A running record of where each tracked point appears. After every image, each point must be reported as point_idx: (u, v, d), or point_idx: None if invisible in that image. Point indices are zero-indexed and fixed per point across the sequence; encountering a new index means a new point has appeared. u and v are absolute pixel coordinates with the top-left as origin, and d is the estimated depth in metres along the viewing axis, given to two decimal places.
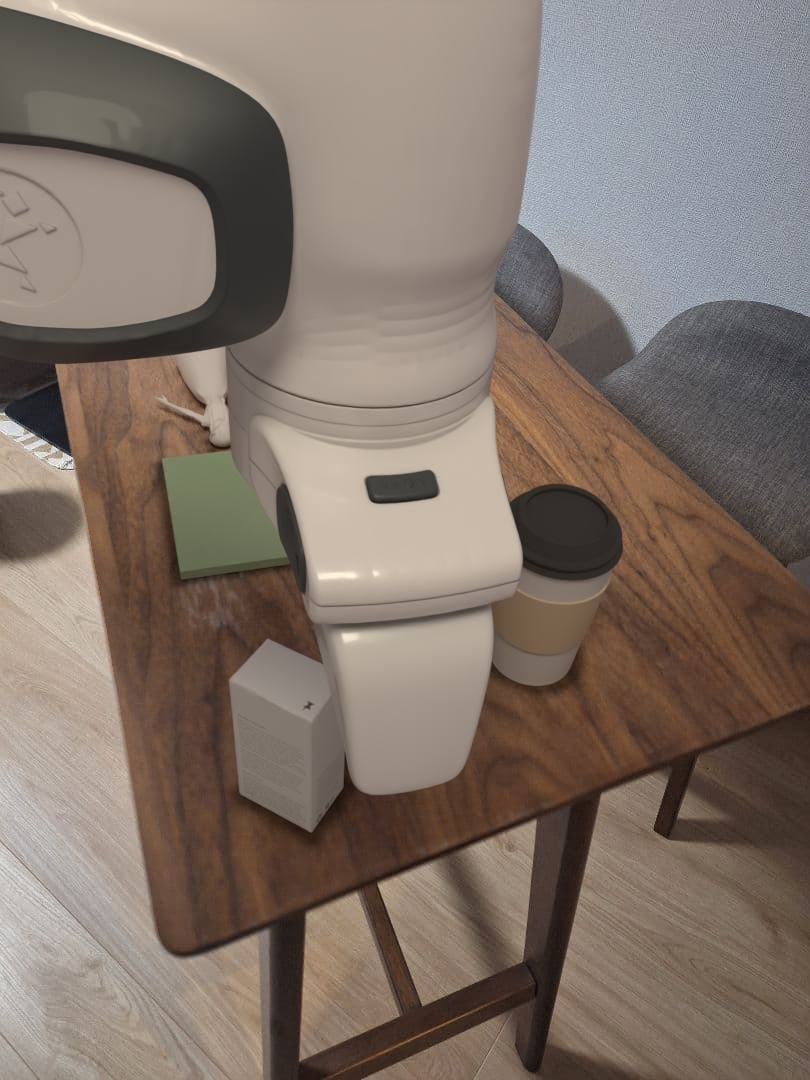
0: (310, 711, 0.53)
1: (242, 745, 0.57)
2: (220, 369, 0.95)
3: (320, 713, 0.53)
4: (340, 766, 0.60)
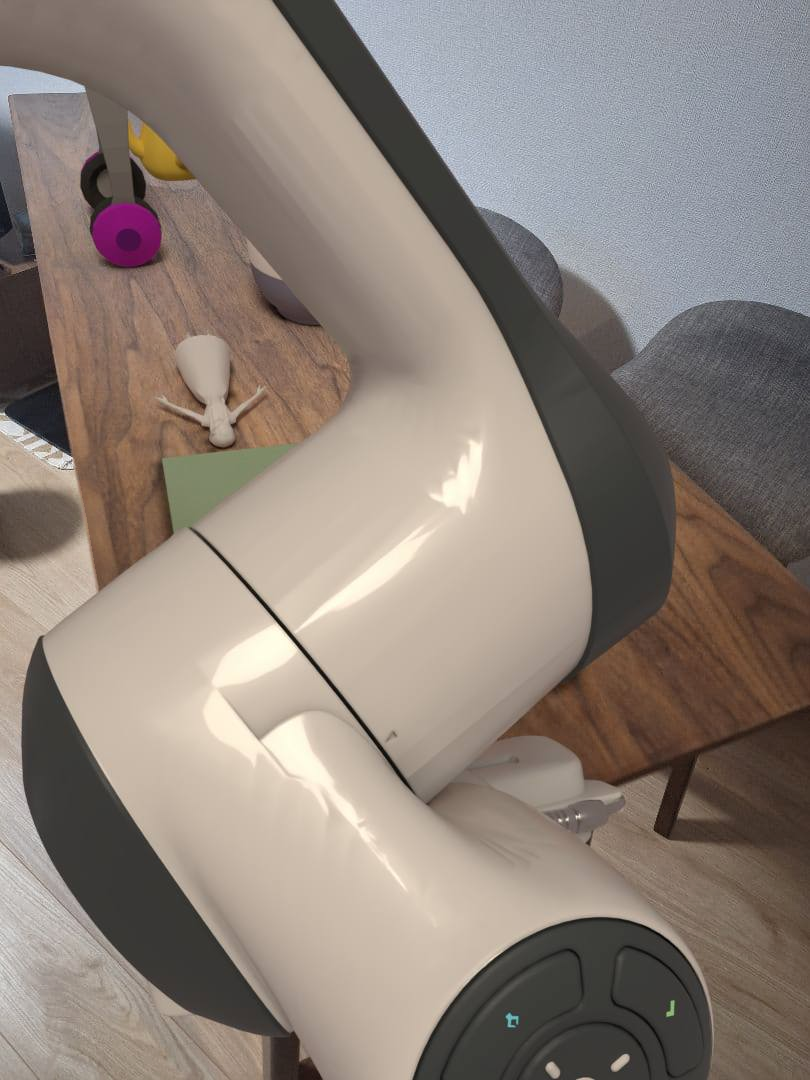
0: None
1: None
2: (220, 369, 0.95)
3: None
4: None
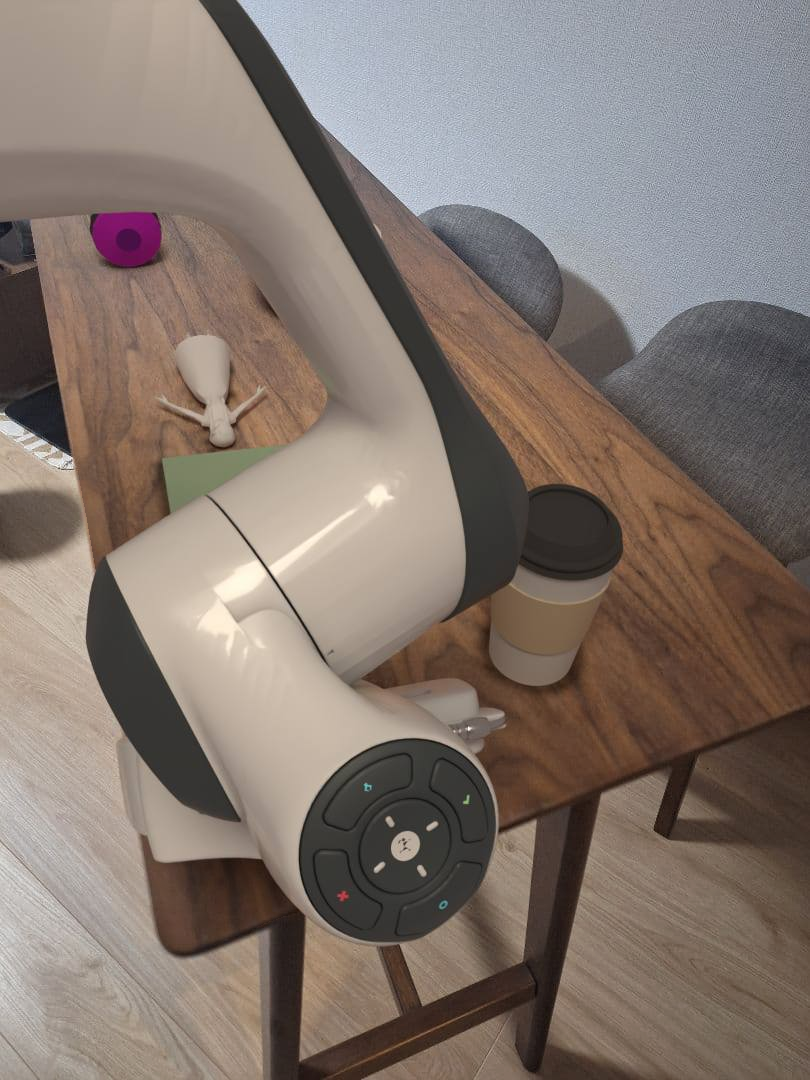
0: None
1: None
2: (220, 369, 0.95)
3: None
4: None
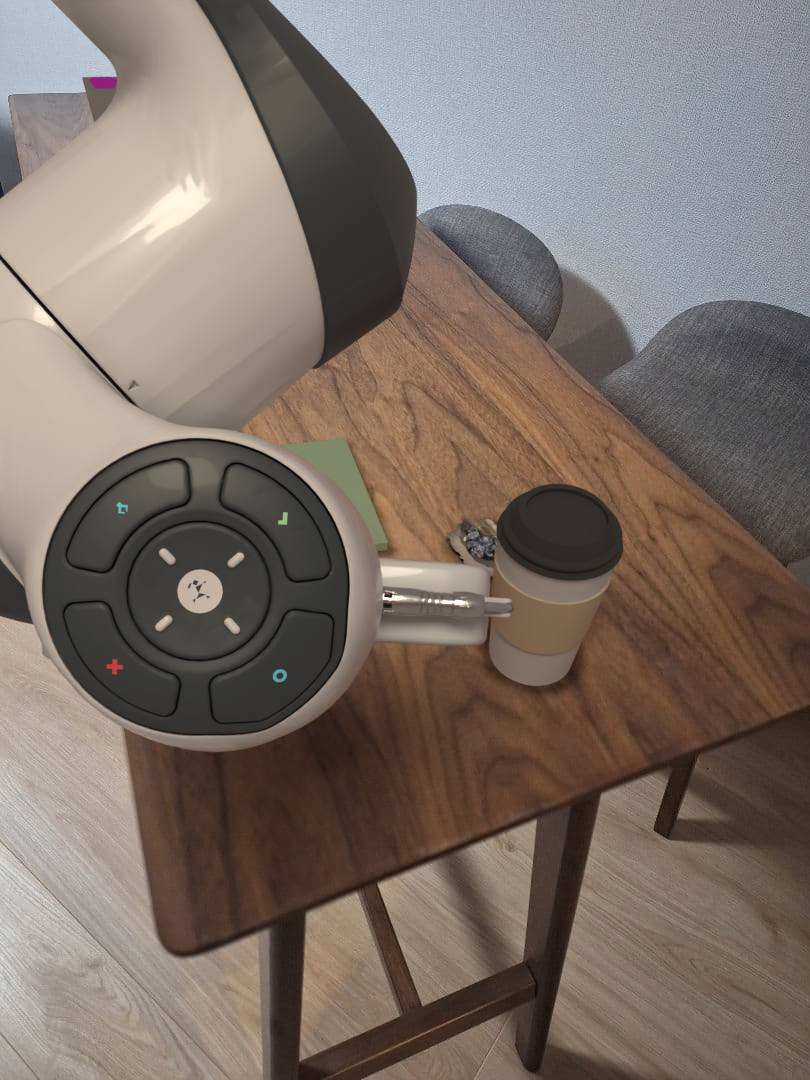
0: None
1: None
2: None
3: None
4: None
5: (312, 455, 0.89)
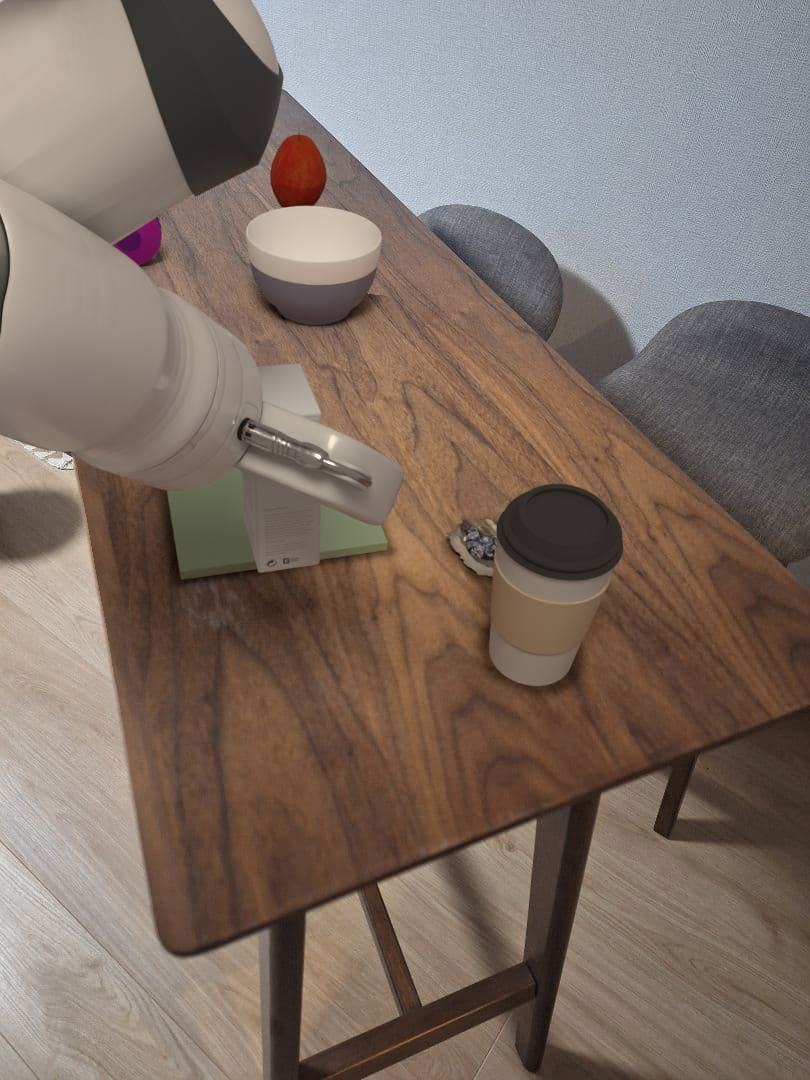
0: None
1: None
2: None
3: None
4: (310, 528, 0.58)
5: None
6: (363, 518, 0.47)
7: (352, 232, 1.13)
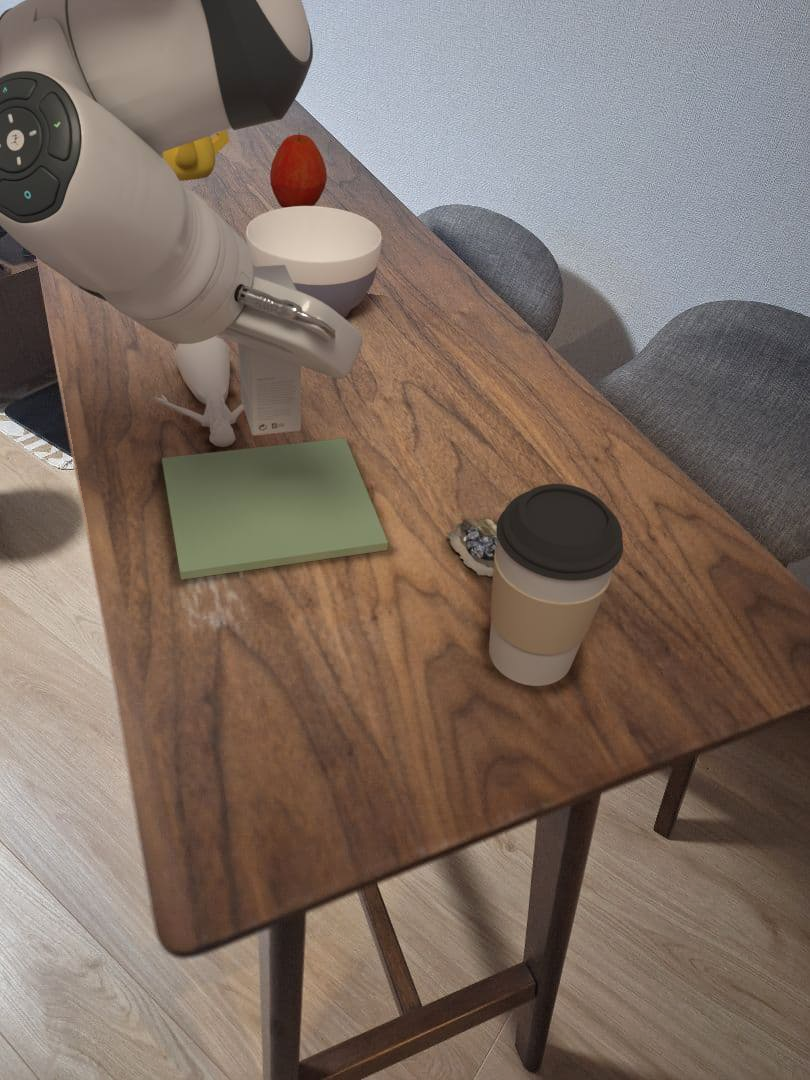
0: None
1: None
2: (220, 369, 0.95)
3: None
4: (293, 397, 0.73)
5: (312, 455, 0.89)
6: (330, 367, 0.62)
7: (352, 232, 1.13)
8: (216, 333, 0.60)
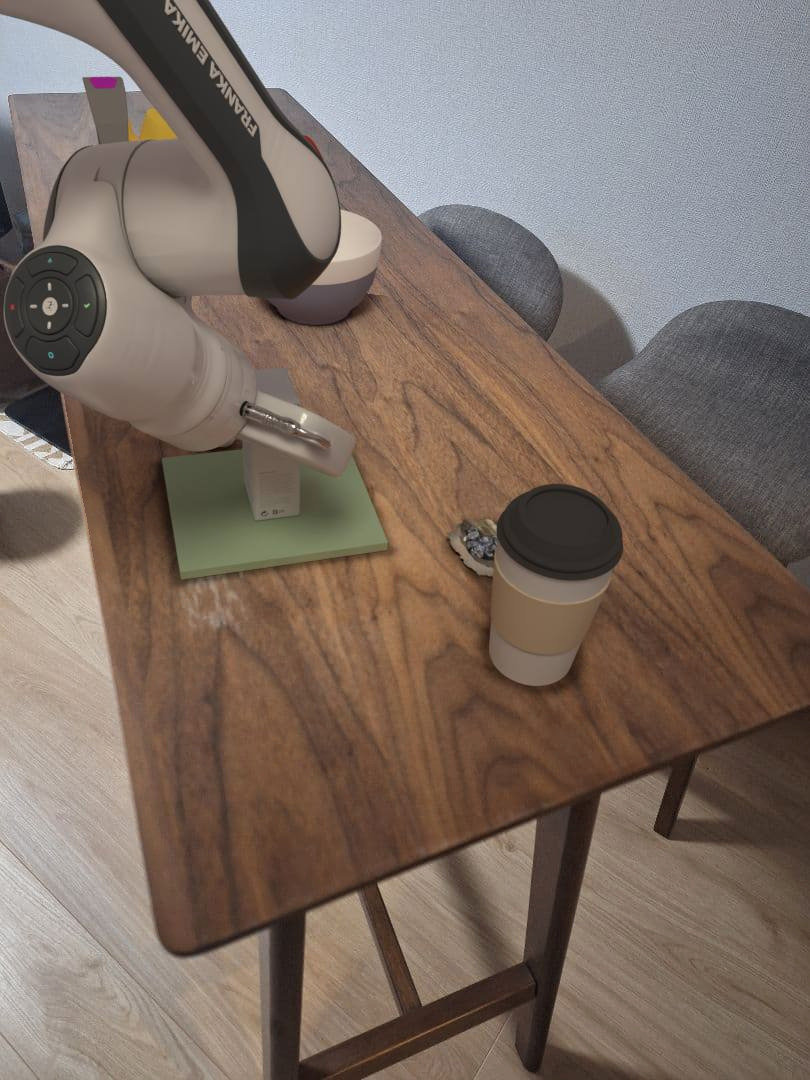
0: None
1: None
2: None
3: None
4: (293, 487, 0.80)
5: None
6: (326, 470, 0.69)
7: (352, 232, 1.13)
8: (223, 443, 0.67)
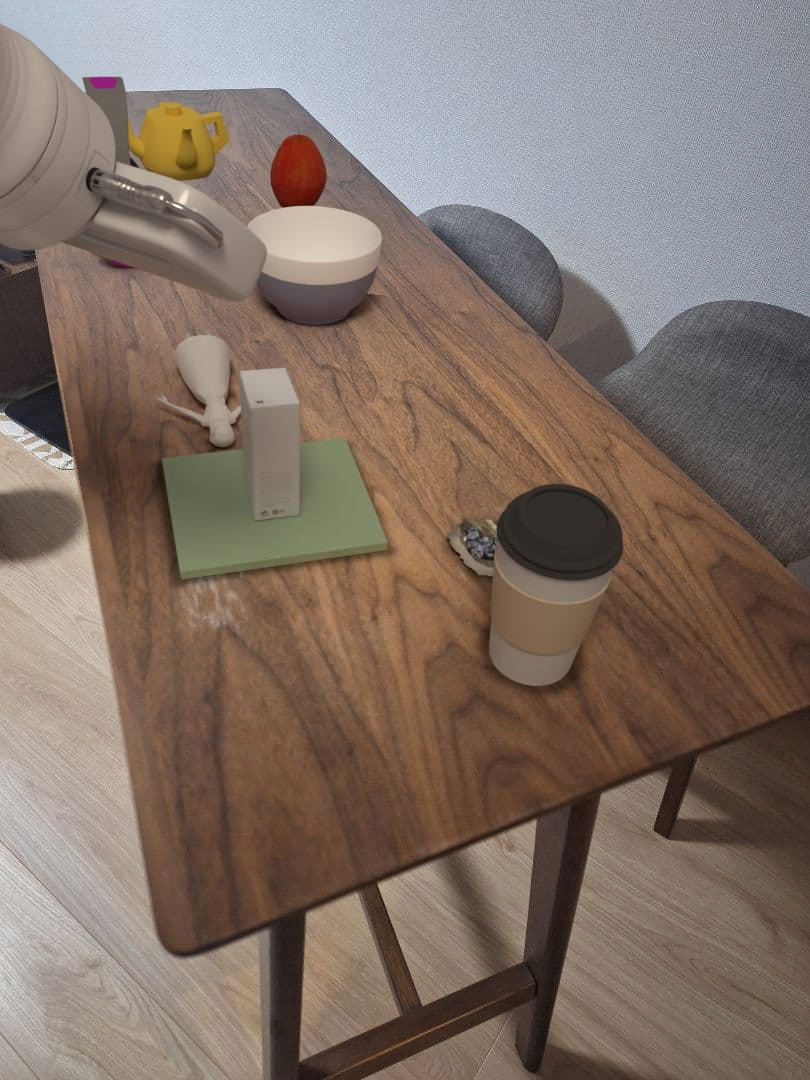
0: (256, 404, 0.74)
1: (242, 432, 0.81)
2: (220, 369, 0.95)
3: (261, 409, 0.73)
4: (293, 487, 0.80)
5: (312, 455, 0.89)
6: (221, 284, 0.48)
7: (352, 232, 1.13)
8: (67, 235, 0.46)
